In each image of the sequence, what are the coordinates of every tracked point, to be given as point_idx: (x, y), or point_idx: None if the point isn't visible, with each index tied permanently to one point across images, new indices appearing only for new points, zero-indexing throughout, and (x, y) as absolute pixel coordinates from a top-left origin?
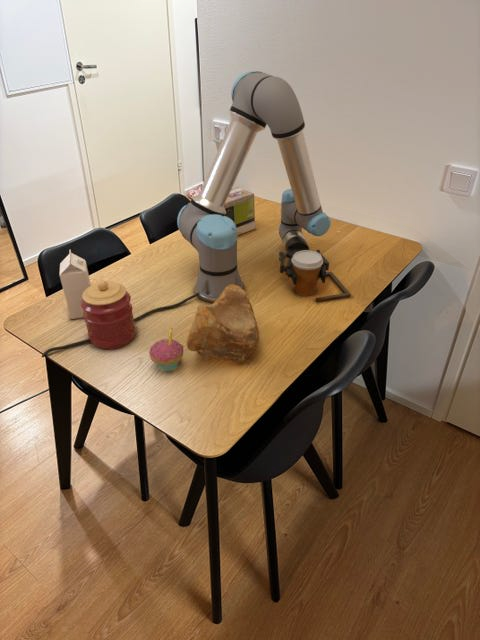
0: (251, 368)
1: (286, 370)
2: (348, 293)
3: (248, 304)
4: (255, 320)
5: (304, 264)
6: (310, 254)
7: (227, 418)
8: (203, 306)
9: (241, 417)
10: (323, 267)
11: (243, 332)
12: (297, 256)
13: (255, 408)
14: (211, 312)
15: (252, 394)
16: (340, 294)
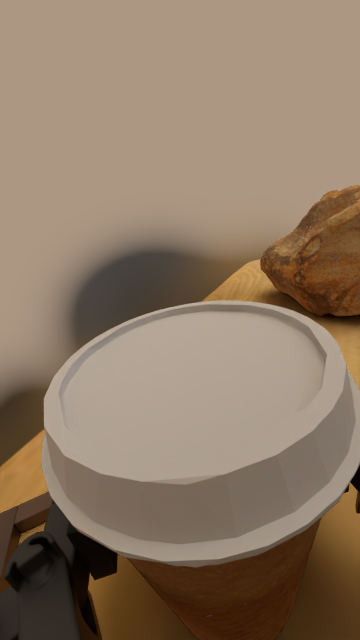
0: (263, 290)
1: (217, 298)
2: (3, 520)
3: (310, 239)
4: (282, 258)
5: (204, 308)
6: (153, 412)
7: (257, 268)
8: (353, 186)
9: (246, 270)
10: (53, 537)
11: (279, 240)
12: (290, 354)
13: (237, 275)
14: (341, 204)
15: (246, 279)
16: (48, 502)
